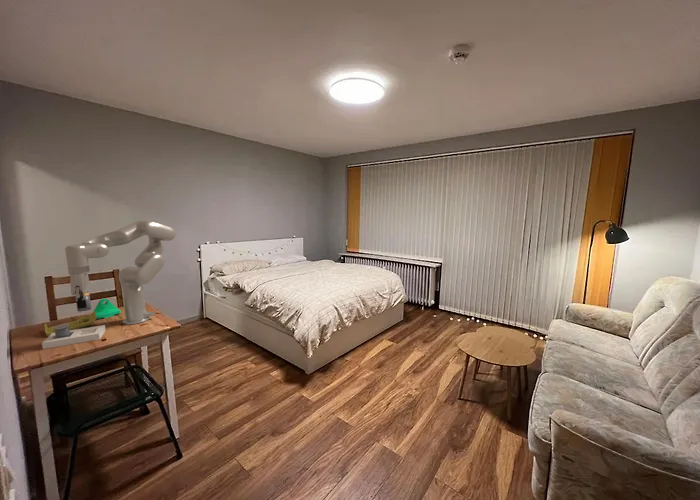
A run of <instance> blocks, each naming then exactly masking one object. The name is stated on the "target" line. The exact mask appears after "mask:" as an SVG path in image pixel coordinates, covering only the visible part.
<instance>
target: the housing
mask: <svg viewBox="0 0 700 500" xmlns="http://www.w3.org/2000/svg"><path fill="white" fill-rule="evenodd" d="M105 333H106V325H105V324H103V325H97V326H90V327H89V326H88V327H82V328H79V329H76V330H70V335H71V336H70V337H64V338H58V339H56V336H55V333H52V334H51V335H50V336H47V338H45V340H43V341H42V342H41V348H42V350H47V349H53V348H58V347H64V346H70V345H76V344H81V343H86V342H92V341H93V342H94V341H98V340H101V338H102V337H103V335H104V334H105Z"/></svg>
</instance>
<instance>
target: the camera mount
mask: <svg viewBox="0 0 700 500" xmlns="http://www.w3.org/2000/svg"><path fill="white" fill-rule="evenodd" d="M104 302H105V303H104ZM93 312H96V320H97V319H101V318H103V319H108V318H111V317H115V315H118V314H121V313H122V311H121V309H119V308H118V307H116V306H115V304H113V303H112V302H111V301H110V300H109V299H107V298H101V299H100V300H98V303H97V304H96V306H95V308H94V309H93V311H92V313H93ZM92 313H91V314H92Z"/></svg>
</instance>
